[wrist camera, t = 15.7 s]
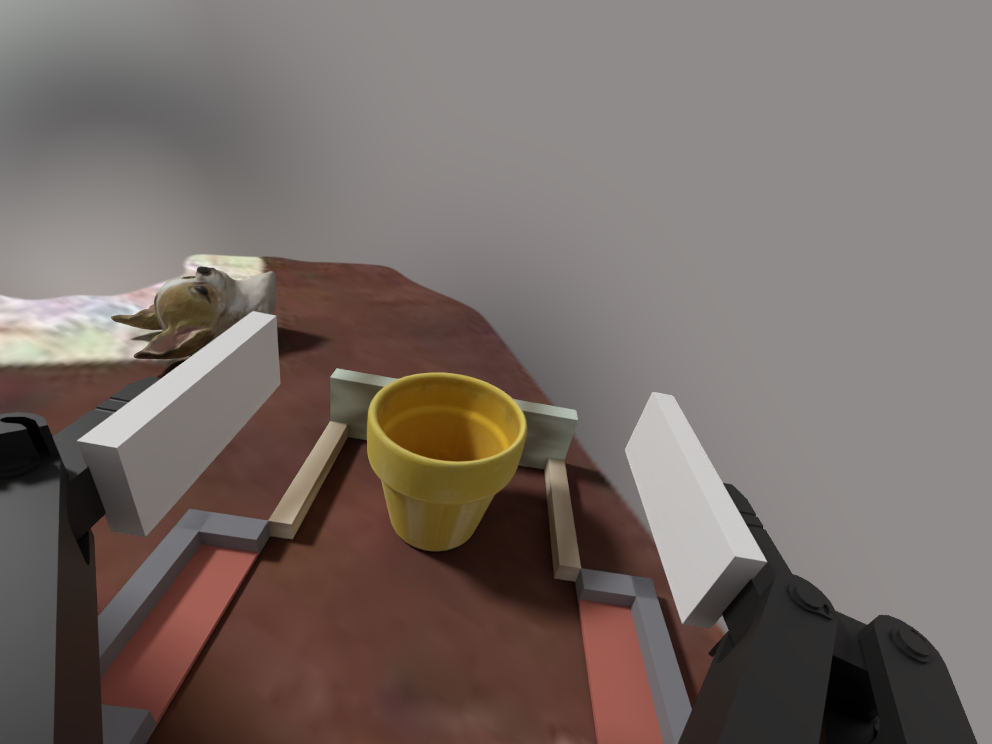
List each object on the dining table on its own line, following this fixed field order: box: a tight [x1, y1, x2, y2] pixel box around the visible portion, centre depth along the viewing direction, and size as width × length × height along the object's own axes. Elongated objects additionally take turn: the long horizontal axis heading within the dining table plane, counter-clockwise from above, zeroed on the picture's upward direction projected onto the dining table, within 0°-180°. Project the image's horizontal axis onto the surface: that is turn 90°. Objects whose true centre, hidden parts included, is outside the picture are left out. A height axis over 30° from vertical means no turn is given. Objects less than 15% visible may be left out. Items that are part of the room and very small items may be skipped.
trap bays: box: [98, 509, 692, 744], centre depth 24 cm, size 31×12×2 cm, turn 88°
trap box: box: [268, 369, 581, 582], centre depth 25 cm, size 21×32×6 cm, turn 178°
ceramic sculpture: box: [111, 267, 276, 359], centre depth 46 cm, size 11×9×15 cm
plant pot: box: [367, 373, 527, 551], centre depth 30 cm, size 10×10×10 cm
